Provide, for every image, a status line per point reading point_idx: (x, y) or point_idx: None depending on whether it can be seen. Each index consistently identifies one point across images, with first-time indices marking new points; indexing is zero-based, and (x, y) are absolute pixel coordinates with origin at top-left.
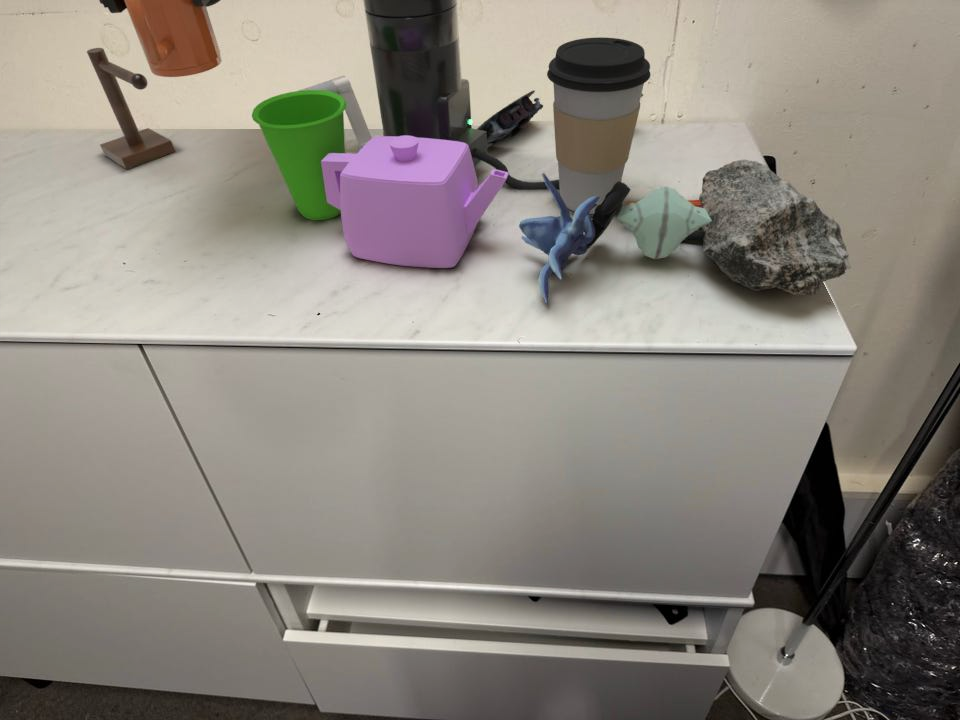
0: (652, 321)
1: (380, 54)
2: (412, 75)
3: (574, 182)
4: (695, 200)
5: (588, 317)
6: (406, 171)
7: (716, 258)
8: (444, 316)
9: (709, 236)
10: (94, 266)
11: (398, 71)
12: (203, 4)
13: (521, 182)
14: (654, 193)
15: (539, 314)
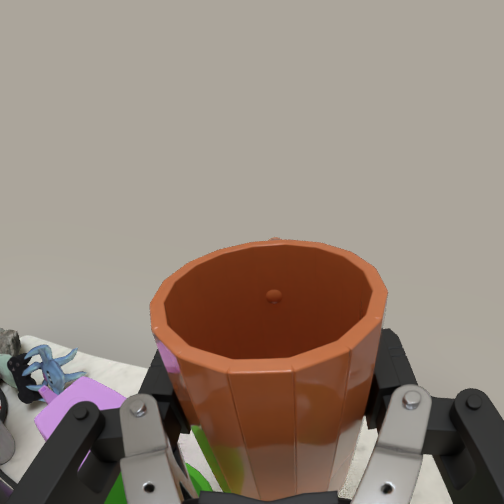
0: (58, 357)
1: (4, 501)
2: (2, 481)
3: (2, 425)
4: None
5: (76, 365)
6: (94, 396)
7: (15, 355)
8: (137, 383)
9: None
10: (424, 466)
11: (8, 489)
12: None
13: (15, 485)
14: (3, 358)
15: (93, 373)
